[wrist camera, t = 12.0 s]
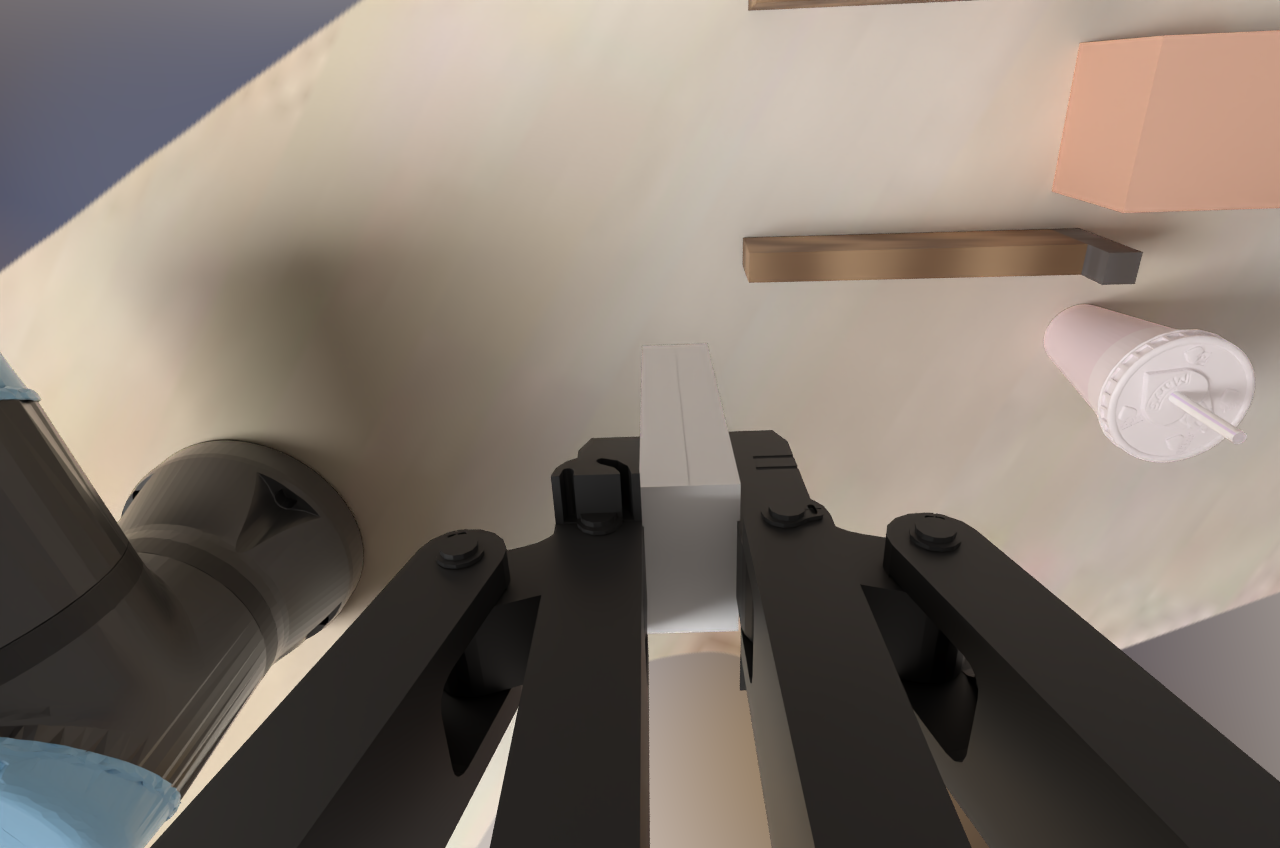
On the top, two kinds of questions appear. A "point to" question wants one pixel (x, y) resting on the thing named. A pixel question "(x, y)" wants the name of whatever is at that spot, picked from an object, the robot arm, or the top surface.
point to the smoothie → (1153, 381)
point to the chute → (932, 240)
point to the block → (1174, 123)
